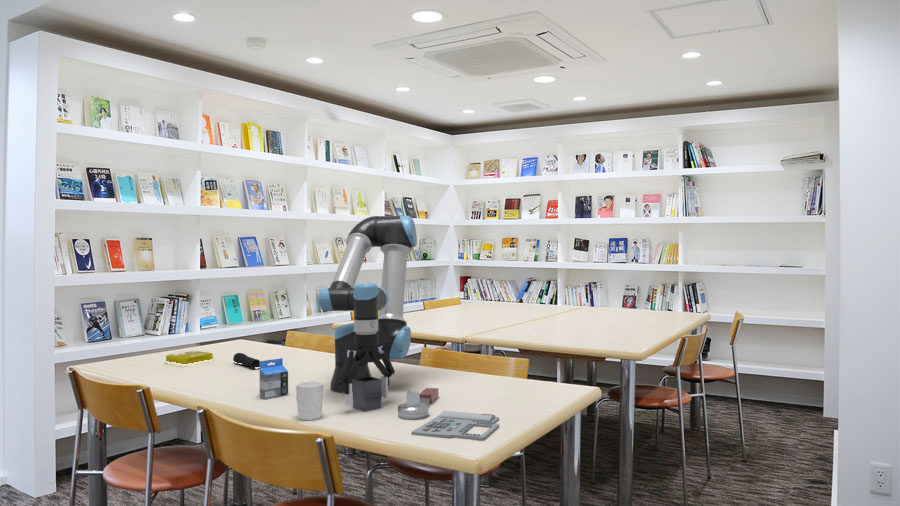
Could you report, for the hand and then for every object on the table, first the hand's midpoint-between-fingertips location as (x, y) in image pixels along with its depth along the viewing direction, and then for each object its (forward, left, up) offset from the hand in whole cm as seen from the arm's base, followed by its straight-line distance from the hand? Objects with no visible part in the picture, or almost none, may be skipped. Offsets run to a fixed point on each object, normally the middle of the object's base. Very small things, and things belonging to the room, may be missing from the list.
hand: (367, 400), depth 199 cm
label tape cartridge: (-27, +27, -3) cm, 38 cm away
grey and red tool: (+16, -5, -2) cm, 17 cm away
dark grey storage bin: (0, 0, -2) cm, 2 cm away
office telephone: (+21, -30, -3) cm, 37 cm away
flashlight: (-36, +90, -3) cm, 96 cm away
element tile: (-60, +108, -3) cm, 124 cm away
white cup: (-18, -5, -3) cm, 19 cm away
